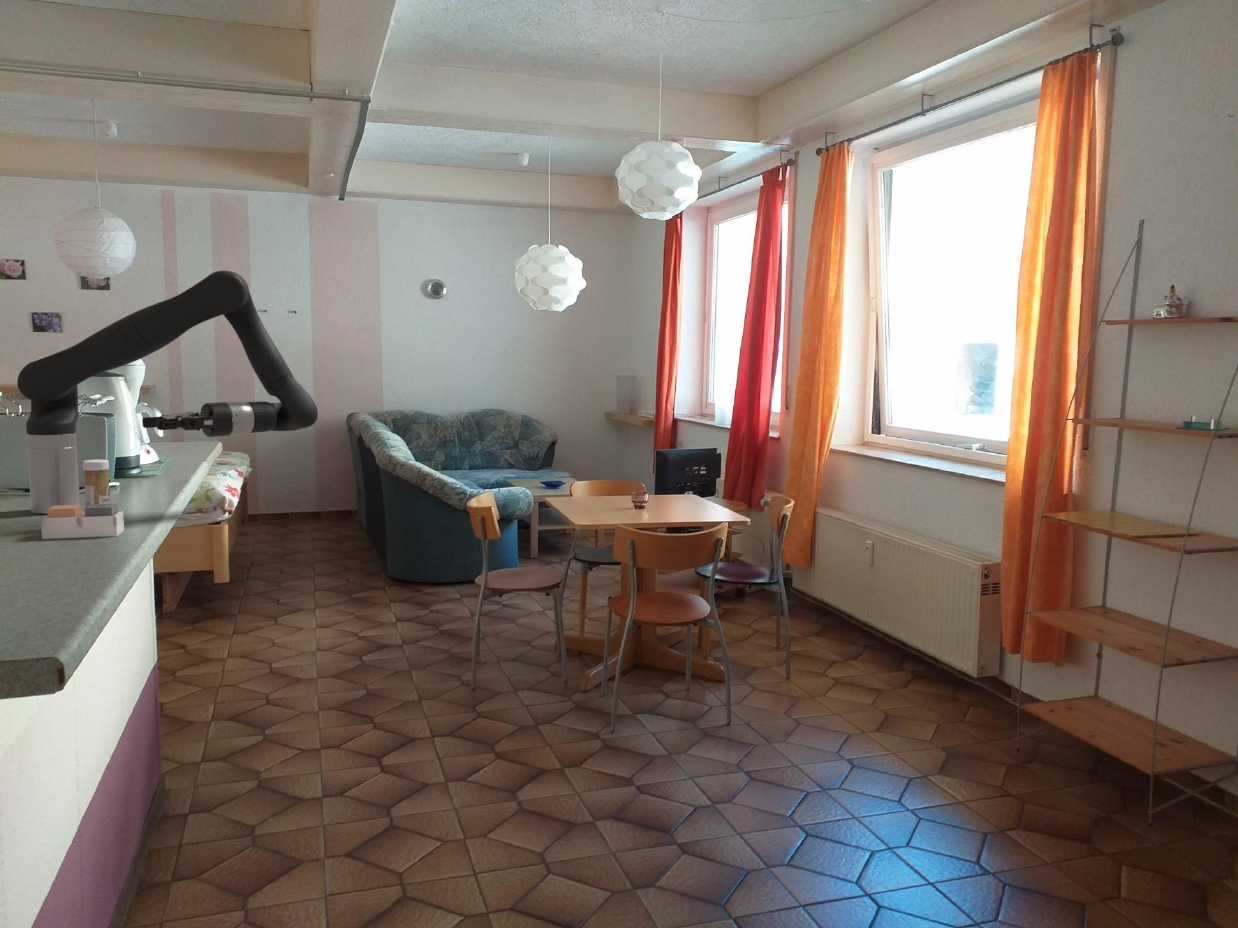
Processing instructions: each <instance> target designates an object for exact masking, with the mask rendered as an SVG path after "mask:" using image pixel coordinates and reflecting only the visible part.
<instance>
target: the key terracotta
mask: <svg viewBox="0 0 1238 928" xmlns="http://www.w3.org/2000/svg"><path fill="white" fill-rule="evenodd" d="M82 510H83V509H82V504H80V505H54V506H53V507H51V508H49V509H48V514H47V515H48V518H61V517H78V516H79V515H81V514H82V512H83V511H82Z"/></svg>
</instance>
